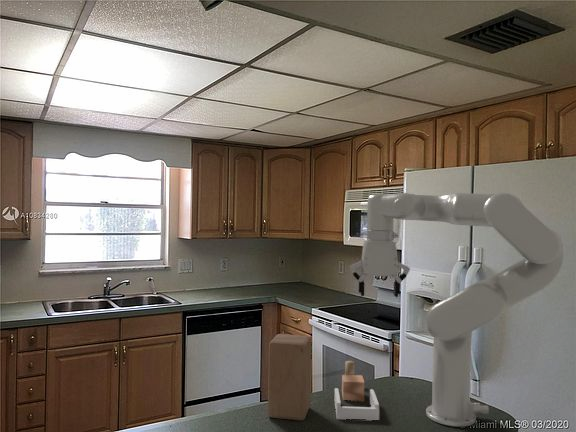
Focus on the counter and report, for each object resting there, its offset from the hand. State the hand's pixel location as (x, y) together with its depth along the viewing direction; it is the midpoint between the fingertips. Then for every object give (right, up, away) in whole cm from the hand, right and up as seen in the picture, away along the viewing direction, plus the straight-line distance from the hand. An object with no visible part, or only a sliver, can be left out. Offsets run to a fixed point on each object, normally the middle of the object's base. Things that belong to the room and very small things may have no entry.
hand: (379, 295), depth 137 cm
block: (-7, -30, +7) cm, 32 cm away
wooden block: (-26, -30, -10) cm, 41 cm away
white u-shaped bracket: (-8, -30, -9) cm, 32 cm away
